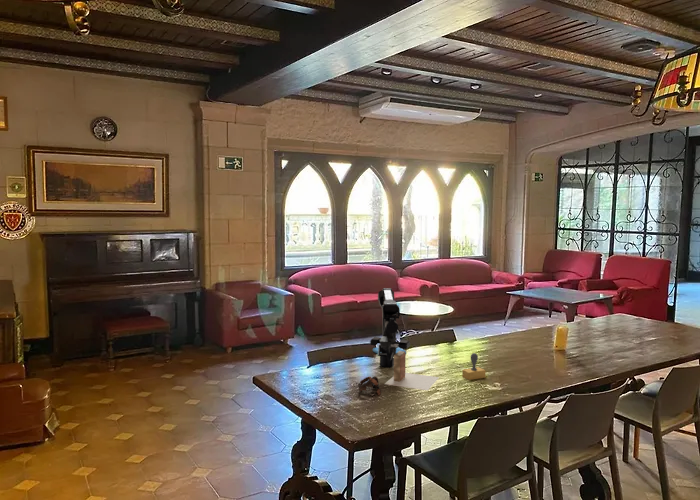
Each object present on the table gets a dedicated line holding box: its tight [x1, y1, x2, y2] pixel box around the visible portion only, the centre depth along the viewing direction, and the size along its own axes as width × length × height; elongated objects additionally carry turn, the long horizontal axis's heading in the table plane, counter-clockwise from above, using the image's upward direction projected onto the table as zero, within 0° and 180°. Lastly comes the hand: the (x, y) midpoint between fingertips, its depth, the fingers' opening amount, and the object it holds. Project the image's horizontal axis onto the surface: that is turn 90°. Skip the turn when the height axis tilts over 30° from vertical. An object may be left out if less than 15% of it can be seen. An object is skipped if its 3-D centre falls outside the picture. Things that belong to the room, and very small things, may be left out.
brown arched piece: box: [357, 376, 382, 396], centre depth 237 cm, size 12×10×8 cm
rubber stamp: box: [461, 352, 487, 381], centre depth 258 cm, size 10×6×12 cm, turn 113°
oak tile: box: [393, 351, 406, 382], centre depth 254 cm, size 3×8×12 cm, turn 156°
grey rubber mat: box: [384, 372, 440, 391], centre depth 252 cm, size 21×20×1 cm
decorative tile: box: [372, 346, 407, 355], centre depth 302 cm, size 14×14×2 cm
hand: (389, 360), depth 255 cm, fingers closed
